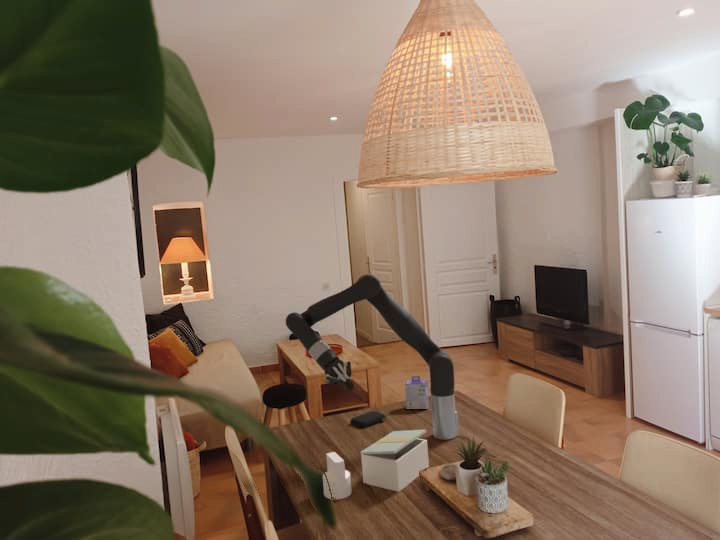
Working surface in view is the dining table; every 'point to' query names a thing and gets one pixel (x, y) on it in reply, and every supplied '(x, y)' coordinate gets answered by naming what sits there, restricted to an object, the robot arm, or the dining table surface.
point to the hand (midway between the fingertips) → (352, 389)
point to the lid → (393, 442)
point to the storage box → (395, 466)
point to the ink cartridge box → (416, 394)
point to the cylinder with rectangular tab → (336, 478)
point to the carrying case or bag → (368, 419)
